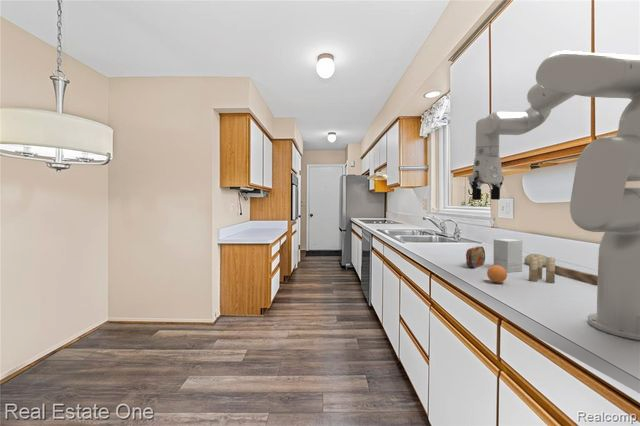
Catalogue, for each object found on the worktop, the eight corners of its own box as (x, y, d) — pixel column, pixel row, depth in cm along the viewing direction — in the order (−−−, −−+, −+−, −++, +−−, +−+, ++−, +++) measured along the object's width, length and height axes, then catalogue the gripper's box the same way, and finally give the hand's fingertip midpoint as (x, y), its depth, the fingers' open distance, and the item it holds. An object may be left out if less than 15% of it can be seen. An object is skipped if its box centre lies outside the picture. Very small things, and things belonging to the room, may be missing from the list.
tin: (472, 269, 122) (472, 249, 122) (464, 268, 125) (464, 248, 124) (485, 264, 132) (486, 245, 132) (478, 263, 134) (478, 244, 134)
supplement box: (522, 271, 118) (523, 240, 117) (507, 272, 116) (507, 241, 116) (507, 267, 125) (508, 238, 125) (492, 268, 124) (493, 238, 123)
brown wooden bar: (606, 286, 96) (606, 277, 96) (601, 286, 96) (602, 277, 96) (551, 271, 116) (551, 264, 116) (548, 272, 116) (548, 264, 116)
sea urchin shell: (539, 258, 134) (548, 248, 128) (547, 273, 128) (557, 263, 123) (518, 258, 135) (526, 248, 129) (525, 273, 129) (534, 263, 123)
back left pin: (543, 279, 106) (544, 255, 106) (537, 279, 106) (538, 256, 106) (538, 277, 109) (538, 254, 108) (532, 277, 108) (532, 254, 108)
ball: (511, 284, 100) (511, 267, 100) (494, 285, 100) (495, 267, 99) (498, 279, 106) (498, 263, 106) (483, 280, 106) (483, 264, 105)
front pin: (538, 281, 103) (539, 257, 103) (532, 281, 103) (533, 257, 103) (533, 279, 106) (533, 256, 105) (527, 279, 106) (527, 256, 105)
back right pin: (556, 282, 101) (556, 258, 101) (550, 283, 101) (550, 258, 101) (550, 281, 104) (550, 257, 103) (544, 281, 104) (544, 257, 103)
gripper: (479, 150, 100) (478, 200, 101) (513, 152, 107) (511, 199, 108) (461, 153, 107) (460, 200, 108) (493, 155, 114) (492, 199, 115)
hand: (486, 199), depth 108 cm, fingers open, 9 cm apart
